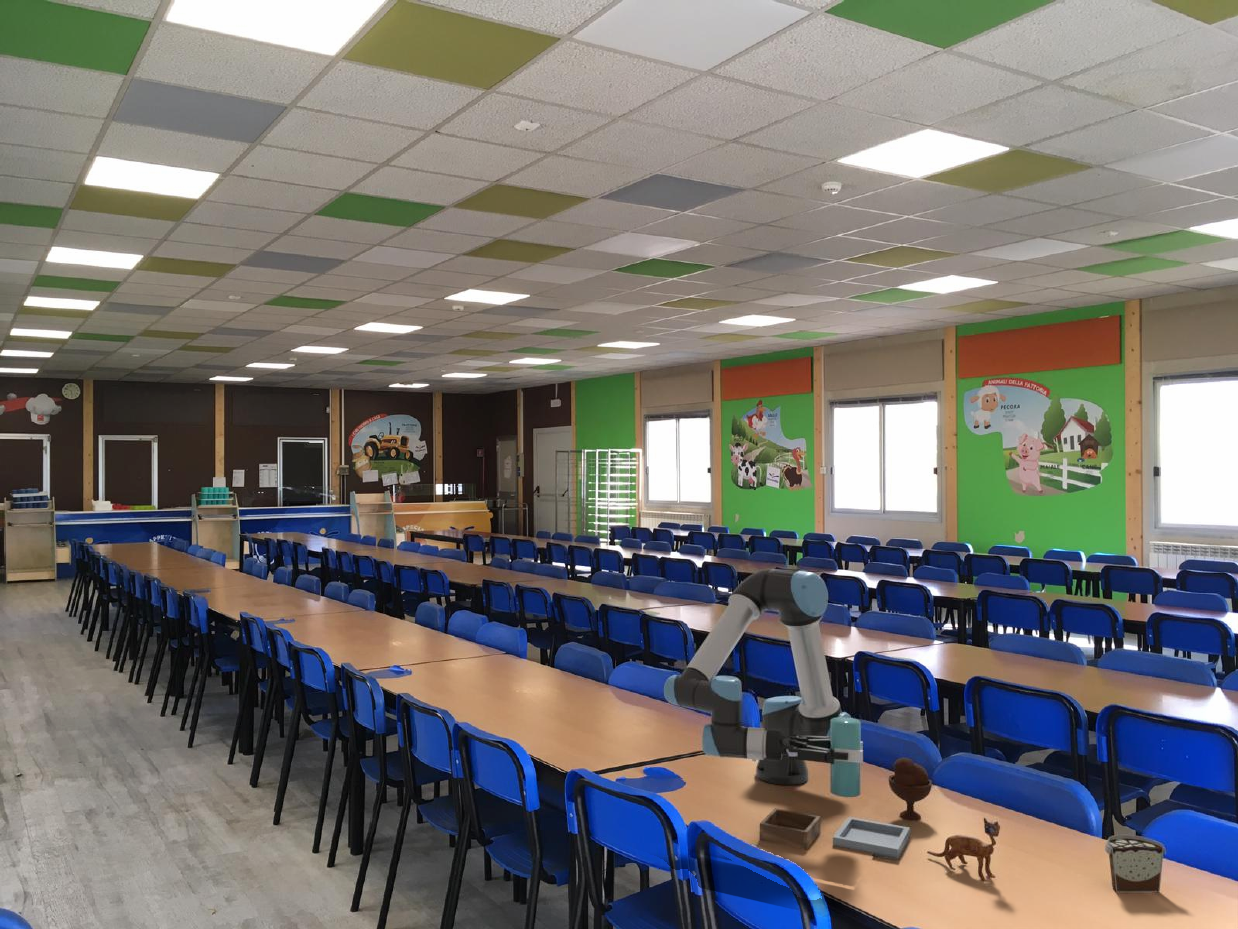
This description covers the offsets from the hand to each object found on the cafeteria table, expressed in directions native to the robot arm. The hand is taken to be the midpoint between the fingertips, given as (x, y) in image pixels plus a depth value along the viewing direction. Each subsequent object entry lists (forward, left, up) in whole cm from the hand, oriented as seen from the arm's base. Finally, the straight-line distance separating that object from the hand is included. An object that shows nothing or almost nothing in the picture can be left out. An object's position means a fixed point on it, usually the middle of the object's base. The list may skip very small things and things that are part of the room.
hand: (862, 752), depth 218 cm
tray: (-2, +2, -22) cm, 22 cm away
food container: (-5, +56, -22) cm, 60 cm away
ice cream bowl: (-24, +7, -22) cm, 34 cm away
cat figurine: (+3, +23, -22) cm, 32 cm away
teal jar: (+1, -4, -10) cm, 11 cm away
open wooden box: (+5, -16, -22) cm, 28 cm away
